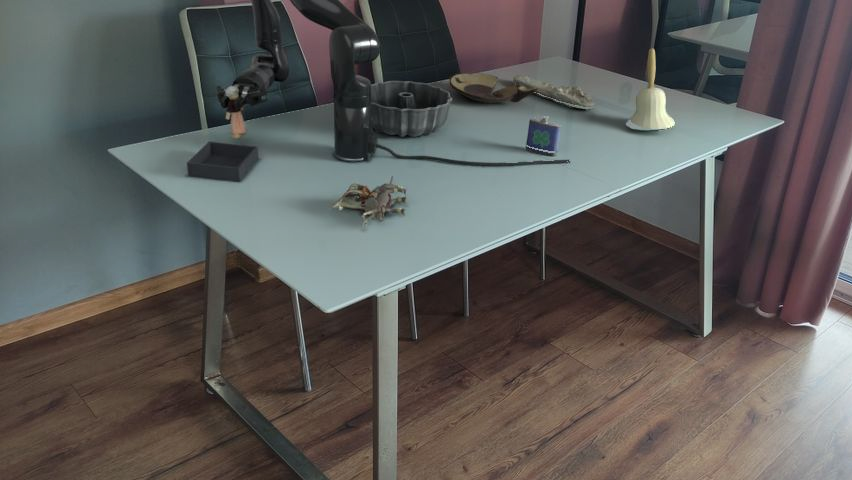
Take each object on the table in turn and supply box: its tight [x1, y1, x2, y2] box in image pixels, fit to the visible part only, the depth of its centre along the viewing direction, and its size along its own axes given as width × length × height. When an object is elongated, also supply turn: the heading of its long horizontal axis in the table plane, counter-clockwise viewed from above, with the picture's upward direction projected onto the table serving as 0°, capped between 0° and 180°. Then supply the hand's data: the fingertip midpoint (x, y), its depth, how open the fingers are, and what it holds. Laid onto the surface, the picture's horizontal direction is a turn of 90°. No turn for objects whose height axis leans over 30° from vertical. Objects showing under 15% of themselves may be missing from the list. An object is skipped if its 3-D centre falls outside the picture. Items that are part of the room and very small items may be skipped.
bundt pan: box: [371, 80, 453, 138], centre depth 218 cm, size 26×26×10 cm
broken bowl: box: [448, 72, 538, 104], centre depth 247 cm, size 22×30×8 cm
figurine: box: [329, 175, 407, 228], centre depth 171 cm, size 20×6×17 cm
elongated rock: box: [512, 75, 596, 109], centre depth 259 cm, size 35×5×10 cm
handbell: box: [629, 47, 676, 130], centre depth 236 cm, size 15×15×25 cm
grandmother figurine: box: [225, 85, 247, 139], centre depth 193 cm, size 8×4×13 cm, turn 177°
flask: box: [525, 115, 562, 157], centre depth 212 cm, size 9×3×11 cm, turn 68°
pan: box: [186, 141, 260, 183], centre depth 184 cm, size 12×14×3 cm
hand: (229, 105), depth 189 cm, fingers closed on grandmother figurine, 2 cm apart
